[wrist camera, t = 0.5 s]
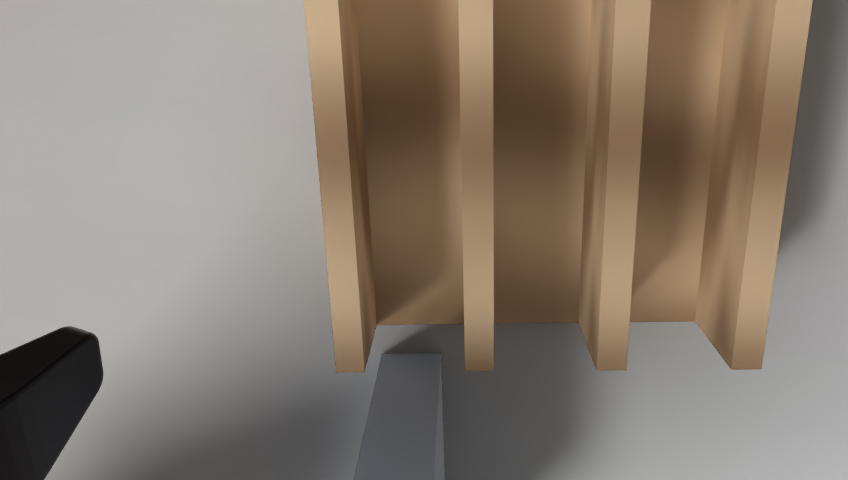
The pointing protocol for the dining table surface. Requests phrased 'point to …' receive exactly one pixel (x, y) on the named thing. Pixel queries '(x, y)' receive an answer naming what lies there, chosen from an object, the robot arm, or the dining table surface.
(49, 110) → the dining table surface
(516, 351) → the dining table surface
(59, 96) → the dining table surface
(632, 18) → the rack
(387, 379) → the blue-grey flat block
